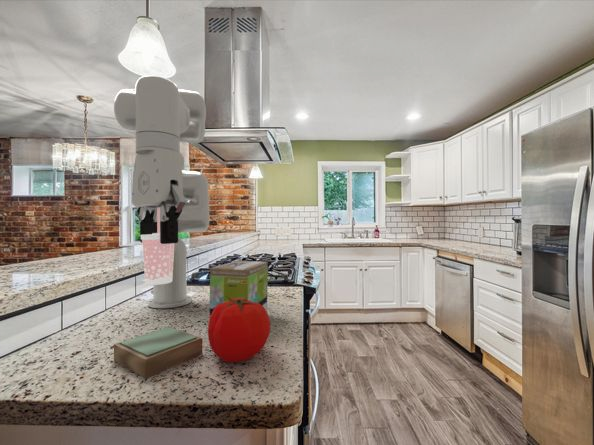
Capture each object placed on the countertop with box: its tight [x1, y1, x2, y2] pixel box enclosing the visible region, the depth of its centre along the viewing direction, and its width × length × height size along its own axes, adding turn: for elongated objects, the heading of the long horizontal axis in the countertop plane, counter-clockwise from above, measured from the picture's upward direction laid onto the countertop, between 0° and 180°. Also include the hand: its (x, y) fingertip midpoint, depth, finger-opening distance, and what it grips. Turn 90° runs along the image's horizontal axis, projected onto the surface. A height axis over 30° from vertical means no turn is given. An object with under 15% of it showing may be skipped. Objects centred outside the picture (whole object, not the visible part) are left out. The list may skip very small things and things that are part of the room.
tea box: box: [208, 260, 269, 320], centre depth 76 cm, size 15×10×15 cm, turn 168°
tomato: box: [207, 296, 271, 364], centre depth 55 cm, size 12×12×11 cm
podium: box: [113, 326, 203, 379], centre depth 56 cm, size 11×11×3 cm
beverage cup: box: [139, 208, 175, 286], centre depth 56 cm, size 6×6×14 cm
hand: (158, 241), depth 56 cm, fingers closed on beverage cup, 6 cm apart
